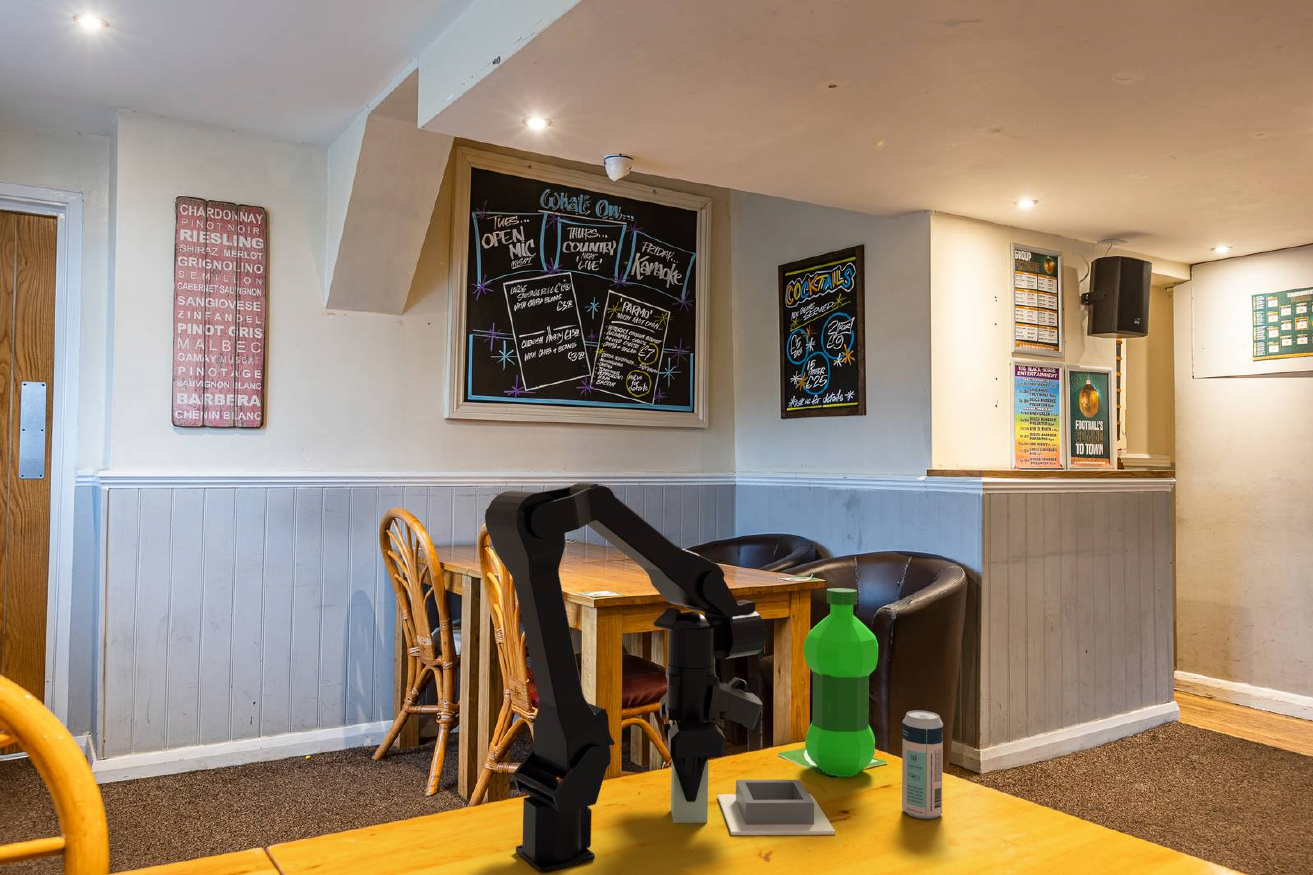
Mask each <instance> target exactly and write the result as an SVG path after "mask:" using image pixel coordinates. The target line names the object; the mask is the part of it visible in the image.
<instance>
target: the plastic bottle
mask: <svg viewBox="0 0 1313 875" xmlns="http://www.w3.org/2000/svg"><path fill="white" fill-rule="evenodd" d="M826 603H827V604H829V606H830V607H829V608H830V610H829V611H830V612H829V614H828V615H827V616H826V617H824V618H823V619H822V620H821V621H820V622H818V623H817V624H816V625H815V626H813V628H812V629H810V630H809V632H808V633H807V637H806V639H805V641H804V644H803V655H804V656H803V657H804V660H805V664H806V666H807V667H809V670H811V671H812V712H811V713H812V717H811V718H812V721H811V723H810V725H809V727H808V730H807V733H806V736H805V739H804V740H805V751H806V754H807V756H808V757H809V758H810V760H811V762H813V763H814V764H815V765H816V766H817V767H818V768H819V769H820V771H821V770H822V771H821V772H823V773H824V772H825V775H828V774H829V776H834V775H835V776H834V777H841V778H842V777H844V778H845V777H854V776H857V775H859V772H861V771H863V770H864V769H865V768H866V767H868V766H869V765H870V764H871V762H872V760H873V759H874V756H875V753H876V737H875V735H874V732H873V729H872V728H871V726H870V724H869V708H870V706H869V705H870V704H869V702H870V701H869V700H870V699H869V696H870V695H869V694H870V693H869V691H870V690H869V689H870V688H869V687H870V675H871V674H872V673H873V672H874V671H875V670H876V669H877V664H878V661H879V660H878V659H879V643H878V640H877V637H876V635H875V634H874V633H873V632H872V631H871V630H870V629H869V628H868V627H867V625H865V624H864V623H863V622H862V621H861V620H860V619H858V618H857V616H855V615H854V605H857V604H858V590H857V589H853V588H844V587H837V588H836V587H833V588H827V589H826ZM830 774H831V775H830Z"/></svg>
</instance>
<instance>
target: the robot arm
mask: <svg viewBox="0 0 1313 875" xmlns="http://www.w3.org/2000/svg"><path fill="white" fill-rule="evenodd" d="M484 523H485V524H484V525H485V528H486V531H487V534H488V536H489V539H490V541H491V544H492V546H493V548H494V552H495V554H496V555H497V557H498V559H499V560H500V561H501V563H502V564H503V565H504V567H505V568H506V570H507V571H508V573H509V574H510V576H511V577H512V580H513V584H514V590H515V594H516V598H517V603H518V608H519V612H520V618H521V622H522V627H523V633H524V636H525V640H526V646H527V652H528V656H529V660H530V666H531V669H532V674H533V679H534V684H535V689H536V695H537V698H538V709H537V711H536V715H535V718H534V721H533V726H532V739H533V741H532V742H533V747H532V748H531V749H530V751H529V752H528V753H527V755H526V756H525V757H524V759H522V762H520V764H519V765H518V767H517V768H516V769H515V770H514V772H513V773H512V774H513V775H512V778H513V781H514V784H515V788H516V790H517V792H520V793H522V794H526V796H527V795H528V796H527V797H523V804H522V806H523V807H522V808H523V809H522V844H519V845H517V846H515V853H516V854H518V855H519V856H520V857H521V858H523V859H524V860H525V861H526V863H528V864H530V865H531V866H532V867H533V868H535V869H536V870H537V871H538V872H540V873H547V872H550V871H554V870H558V869H562V868H566V867H570V866H574V865H578V864H582V863H586V862H590V861H594V860H595V859H596V854H595V853H594V852H593V851H592V850H590V847H591V846H592V817H593V816H592V815H593V814H592V809H591V808H590V806H594V805H596V804H597V801H598V798H599V795H600V792H601V788H602V785H603V784H602V783H604V782H603V781H604V778H605V774H606V772H607V768H608V767H609V766H610V765H611V760H612V749H611V746H615V744H616V742H615V740H614V739H613V738H612V735H611V732H610V725H609V715H608V712H607V710H606V709H605V708H604V707H600V706H597V705H594V704H592V703H590V702H588V701H587V700H586V698H585V695H584V691H583V686H582V681H581V677H580V672H579V668H578V662H577V656H576V653H575V648H574V642H573V637H572V632H571V628H570V622H569V618H568V617H569V616H568V613H567V606H566V603H565V598H564V593H563V587H562V582H561V578H560V565H561V563H562V562H561V561H562V558H563V555H564V551H565V548H566V533H570V532H573V531H576V530H577V531H578V530H579V529H581V528H584V527H585V526H588V527H589V528H591V530H593V531H594V532H596V533H597V534H598V535H600V536H601V537H602V538H603V539H605V540H606V541H607V542H609V543H610V544H611V545H612V546H614V547H615V548H616V549H618V550H619V551H620V552H622V553H623V554H624V555H625V556H627V557H628V558H630V559H631V561H633V562H634V563H636V564H637V565H638V566H640V568H642V569H643V570H644V571H645V572H646V573H647V575H648V577H649V580H650V582H651V585H652V586H653V588H654V589H656V591H657V592H658V593H659V594H660V595H661V597H662V598H663V599H664V600H665V601H666V602H667V603H670V604H673V605H677V606H682V607H684V608H685V609H687V610H691V611H686V612H681V610H680V609H678V608H673V607H670V606H669V607H666V608H665V610H664V612H663V613H662V614H660V615H659V616H658V617H657V618H656V619H655V620H654V621H653V627H654V628H657V629H663V630H666V631H667V632H668V634H667V667H665V678H666V681H667V683H666V692H665V694H664V695H663V696H662V697H661V698H660V699H659V716H660V720H666V718H667V721H669V722H668V723H663V724H662V730H663V733H664V736H665V740H666V746H667V750H668V754H669V756H670V759H671V763H672V762H673V765H674V768H675V770H676V773H677V776H678V779H679V781H680V784H681V787H682V790H683V793H684V796H685V799H686V801H687V802H695V801H696V798H697V794H698V790H699V786H700V782H701V778H702V775H703V771H704V767H705V764H706V761H707V760H708V761H709V759H711V758H723V757H726V754H727V750H726V748H727V738H726V737H725V734H724V732H723V730H722V729H721V728H720V727H719V726H718V725H717V724H716V723H717V722H719V723H720V720H721V718H720V717H722V718H725V719H728V720H729V721H732V722H735V723H738V724H741V725H743V727H744V728H746V729H749V730H754V729H755V727H756V724H757V722H758V719H759V717H760V714H761V710H762V708H763V706H764V704H763V702H762V700H761V699H760V698H759V697H758V696H756V694H754V693H752V692H749V689H748V688H749V687H748V683H747V682H746V680H744V679H742V678H739V677H736V676H735V677H733V678H732V679H731V680H730V681H728V682H727V683H726V682H720V678H719V676H718V675H717V672H716V659H718V660H727V659H732V658H739V657H745V656H752V655H757V654H759V653H761V652H762V651H763V650H764V649H765V646H766V644H767V640H768V630H767V628H766V624H765V622H764V620H763V617H762V616H761V614H759V613H758V612H757V611H756V602H755V601H751V600H746V599H745V600H744V599H743V600H737V601H736V598H735V596H734V595H733V593H732V592H731V590H730V588H729V586H728V584H727V583H726V581H725V580H726V579H725V576H726V575H725V574H726V573H725V571H724V570H723V568H722V567H721V566H720V565H719V564H718V563H716V562H715V561H712V560H711V559H709V558H707V557H705V556H703V555H701V554H698V553H696V552H694V551H691V550H688V549H685V548H682V547H680V546H679V545H676V544H674V542H672V541H671V540H670V539H668V538H667V536H665V535H664V534H663V533H661V532H660V531H659V530H657V529H656V528H655V527H654V526H653V525H652V524H650V523H649V522H647V520H645V519H644V518H643V517H642V516H641V515H640V514H638V513H637V512H635V511H634V510H633V509H632V508H630V507H629V506H628V505H627V504H626V503H624V501H622V500H621V499H619V498H618V497H617V496H616V495H614V492H613V491H612V489H611V488H609V487H608V486H607V485H605V484H602V483H592V482H590V483H589V482H577V483H575V484H573V485H570V486H565V487H562V488H557V489H549V490H544V491H538V492H537V491H521V490H519V491H518V490H517V491H516V490H509V491H507V490H506V491H503V492H501V493H499V494H497V495H496V496H495V497H494V498H493V499H492V500H491V502H490V504H489V506H488V508H486V509H485V513H484ZM699 612H701V613H704V615H702V614H701V613H699ZM707 721H709V722H707ZM559 779H561V780H559Z"/></svg>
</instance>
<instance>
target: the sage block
mask: <svg viewBox="0 0 1313 875" xmlns="http://www.w3.org/2000/svg"><path fill="white" fill-rule="evenodd" d="M670 777H671V778H670V779H671V780H670V781H671V784H670V785H671V786H670V787H671V788H670V789H671V791H670V792H671V793H670V812H671V818H672V822H673V823H674V824H683V823H684V824H686V823H687V824H697V823H698V824H703V823H704V824H707V823H708V818H709V817H708V814H709V812H708V809H709V808H708V806H709V804H708V802H709V797H708V796H709V759H708V760H707V761H706V764H705V767H704V771H703V775H702V778H701V782H700V786H699V790H698V794H697V798H696V801H695V802H687V801H686V799H685V796H684V793H683V790H682V787H681V784H680V781H679V779H678V776H677V773H676V770H675V768H674V765H673V762H672V761H671V776H670Z"/></svg>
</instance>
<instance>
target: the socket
mask: <svg viewBox="0 0 1313 875" xmlns="http://www.w3.org/2000/svg"><path fill="white" fill-rule="evenodd" d="M717 799H718V803H719V804H720V808H721V811H722V813H723V816H724V819H725V821H726V825H727V828H728V830H729V833H730V835H731V836H782V835H783V836H784V835H785V836H791V835H792V836H795V835H796V836H797V835H798V836H799V835H800V836H801V835H802V836H803V835H805V836H806V835H807V836H808V835H809V836H810V835H811V836H812V835H815V836H816V835H819V836H820V835H822V836H823V835H825V836H826V835H831V836H833V835H836V830H835V828H834V827H833V825H832V824H831V822H830V821H829V819H828V818H827V816H826V815H825V813H824V812H823V809H822V808H821V807H820V805H819V804H818V802H817V800H816V798H815V797H814V796H813V795H812V794H811V793H808V790H807V789H806V788H805V786H804V784H803V783H802V781H801V780H800V779H736V780H735V794H733V793H732V794H730V793H728V794H724V793H723V794H717Z"/></svg>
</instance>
